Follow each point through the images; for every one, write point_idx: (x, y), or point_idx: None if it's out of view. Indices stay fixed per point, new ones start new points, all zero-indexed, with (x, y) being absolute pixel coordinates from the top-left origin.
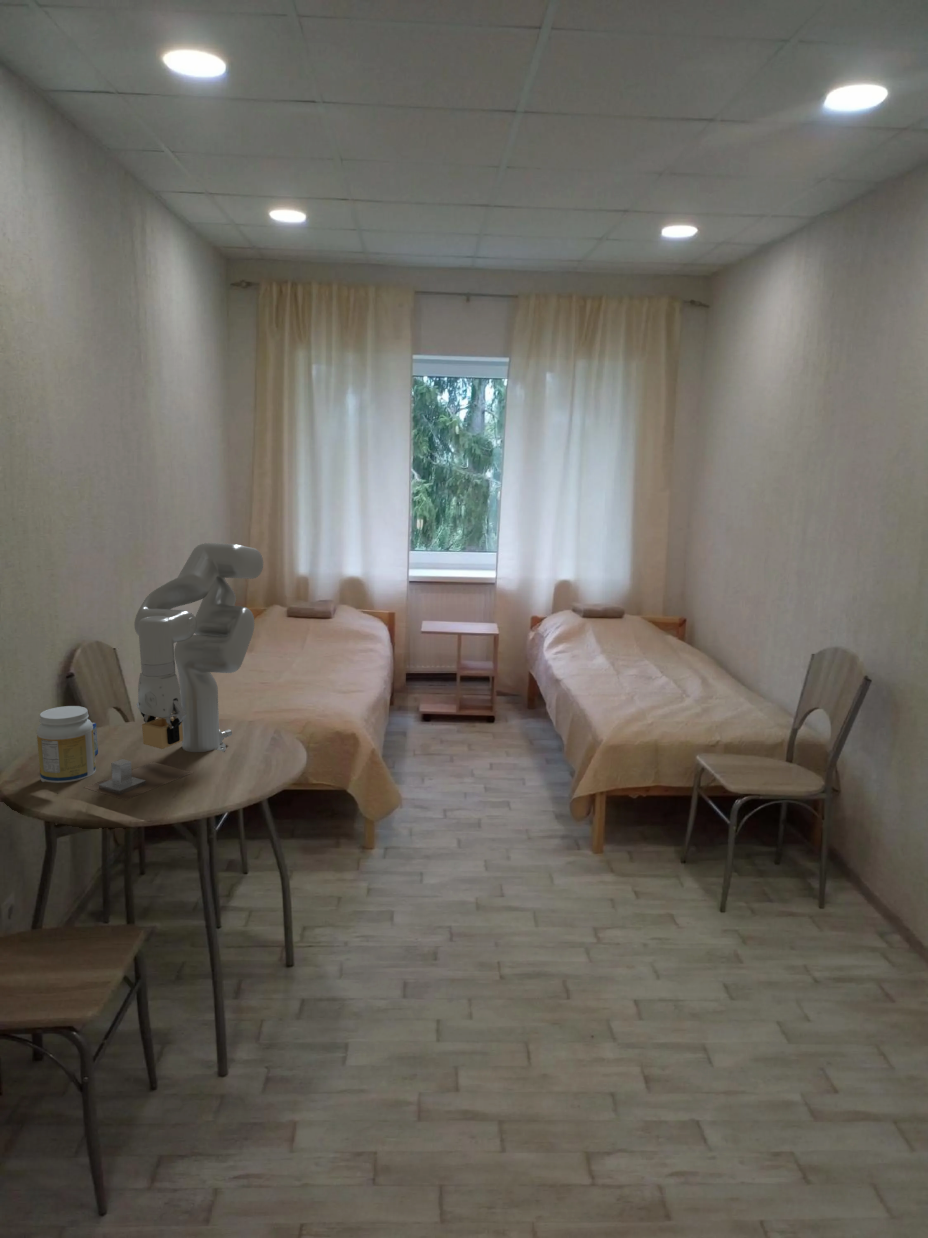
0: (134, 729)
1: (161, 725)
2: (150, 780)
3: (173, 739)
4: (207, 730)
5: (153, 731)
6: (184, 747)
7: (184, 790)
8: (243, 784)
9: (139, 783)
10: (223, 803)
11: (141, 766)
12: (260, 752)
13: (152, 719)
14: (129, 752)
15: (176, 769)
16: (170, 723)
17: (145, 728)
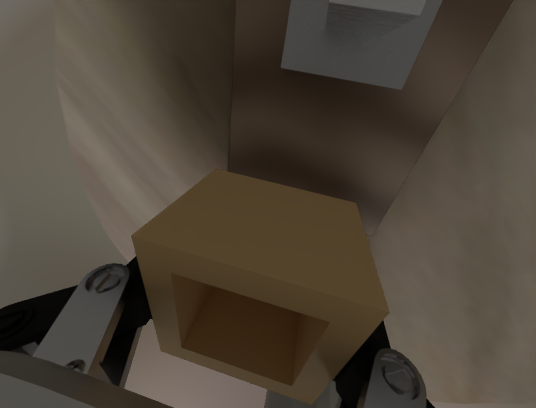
0: (527, 381)
1: (299, 333)
2: (293, 111)
3: None
4: None
5: (240, 236)
6: None
7: (194, 119)
8: (128, 192)
9: (286, 30)
10: (59, 81)
11: (390, 202)
12: None
13: (345, 381)
14: (489, 292)
15: None
16: (72, 303)
17: (336, 269)
